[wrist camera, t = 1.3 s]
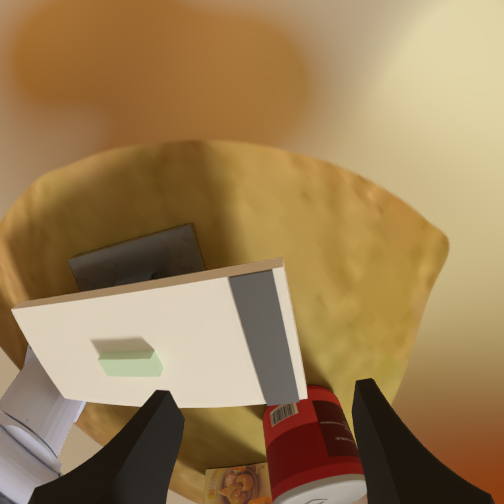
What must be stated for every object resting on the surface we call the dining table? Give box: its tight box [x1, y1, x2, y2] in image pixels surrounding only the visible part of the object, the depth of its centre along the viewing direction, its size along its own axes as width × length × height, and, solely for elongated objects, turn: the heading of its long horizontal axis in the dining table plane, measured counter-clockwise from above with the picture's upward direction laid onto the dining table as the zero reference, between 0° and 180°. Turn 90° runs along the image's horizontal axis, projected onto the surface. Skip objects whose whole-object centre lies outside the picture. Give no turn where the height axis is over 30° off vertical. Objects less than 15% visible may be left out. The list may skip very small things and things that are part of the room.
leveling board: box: [11, 257, 308, 408], centre depth 17 cm, size 20×9×3 cm, turn 103°
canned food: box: [263, 385, 367, 504], centre depth 21 cm, size 8×8×11 cm
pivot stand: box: [68, 223, 206, 292], centre depth 20 cm, size 10×12×4 cm
